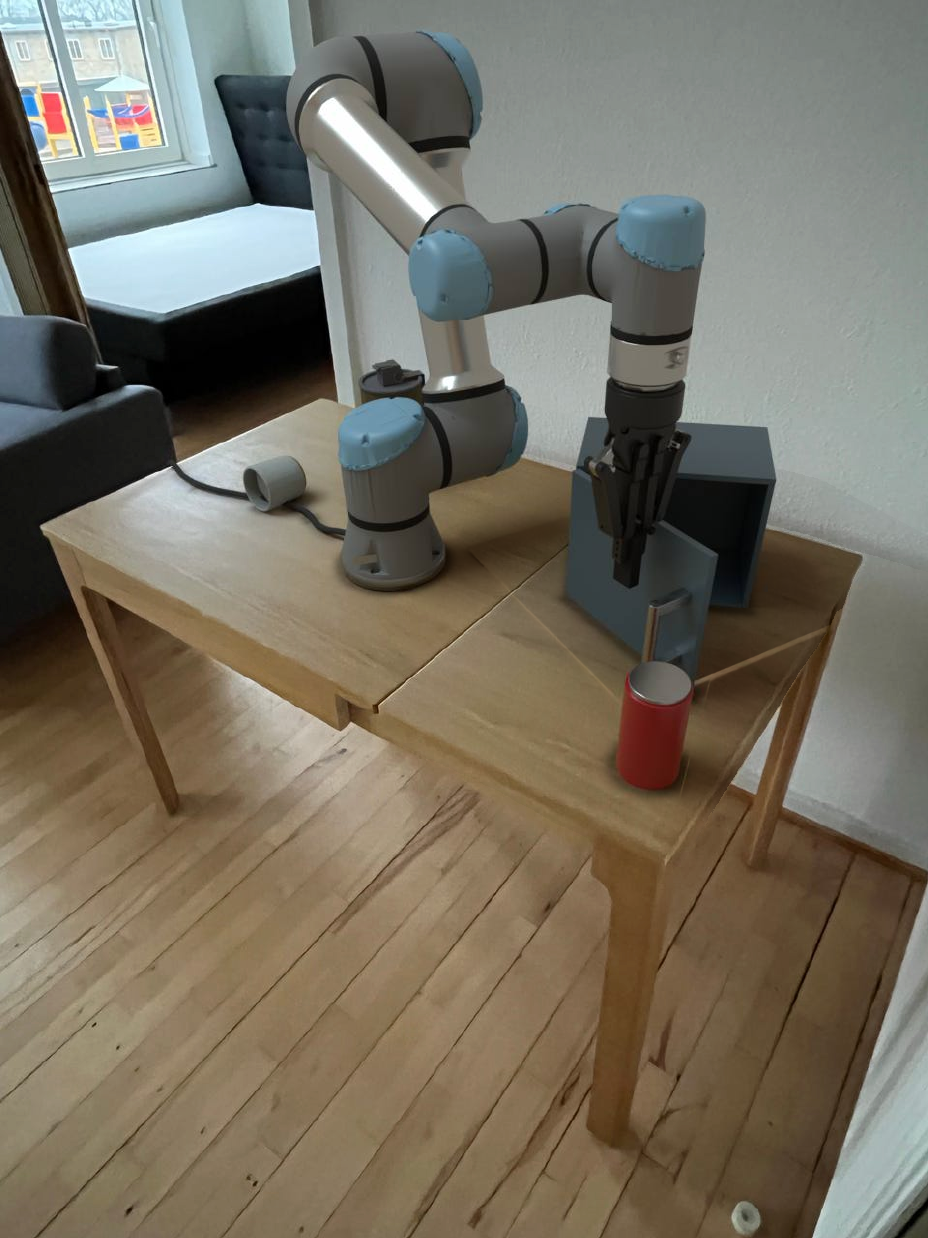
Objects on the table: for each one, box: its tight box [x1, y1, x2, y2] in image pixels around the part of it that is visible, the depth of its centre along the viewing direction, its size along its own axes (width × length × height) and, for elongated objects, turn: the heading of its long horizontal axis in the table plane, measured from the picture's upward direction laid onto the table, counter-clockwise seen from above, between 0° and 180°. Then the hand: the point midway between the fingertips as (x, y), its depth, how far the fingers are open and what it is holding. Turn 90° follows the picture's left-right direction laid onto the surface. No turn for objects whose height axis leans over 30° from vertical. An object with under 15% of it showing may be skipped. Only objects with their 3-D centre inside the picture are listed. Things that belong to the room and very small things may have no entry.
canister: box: [357, 358, 426, 406], centre depth 136 cm, size 11×10×20 cm
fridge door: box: [565, 468, 718, 690], centre depth 96 cm, size 6×24×19 cm, turn 31°
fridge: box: [575, 416, 777, 609], centre depth 110 cm, size 15×24×20 cm, turn 77°
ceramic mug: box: [242, 455, 307, 512], centre depth 135 cm, size 11×8×8 cm
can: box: [615, 661, 695, 791], centre depth 83 cm, size 7×7×12 cm
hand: (625, 581), depth 92 cm, fingers closed
